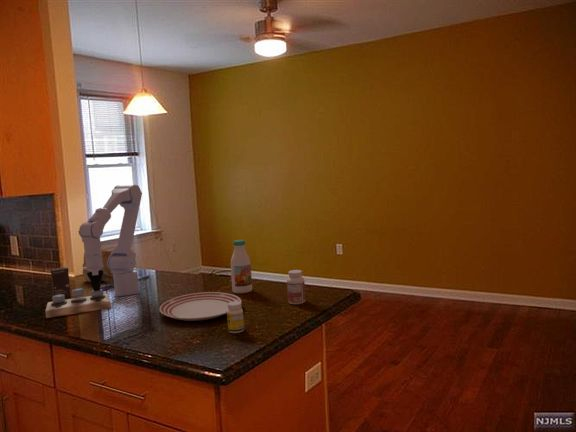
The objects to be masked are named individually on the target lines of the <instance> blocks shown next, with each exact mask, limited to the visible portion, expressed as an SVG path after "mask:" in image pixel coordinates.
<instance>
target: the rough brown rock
mask: <svg viewBox="0 0 576 432" xmlns="http://www.w3.org/2000/svg"><path fill="white" fill-rule="evenodd" d="M112 250H113V249H112ZM112 250H101V252H102V262H103V266H104V267H103V268H102V269H100V270H103V275H102V279H101V282H104V283H106V284H108V285H111V284H114V279H113V273H111V270H109V268H108V266H107V261H108V258H109V257H110V255H111V251H112ZM83 267H86V260H85V251H84V253H83V264H82V268H83ZM87 272H91V271H88V270H83V269H82V276H83V279H84V280H85V281H86V282H89V283H91V281H90V279H89V277H88V276H87Z"/></svg>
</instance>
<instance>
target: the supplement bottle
mask: <svg viewBox="0 0 576 432" xmlns="http://www.w3.org/2000/svg"><path fill="white" fill-rule="evenodd" d="M226 316H227V329H228V332H229V333H231V334H238V333H242V332H244V330H245V321H244V310H243V308H242V301H241V302H238V301H234V302H230V303H228V310H227V314H226Z"/></svg>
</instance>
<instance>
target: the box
mask: <svg viewBox="0 0 576 432" xmlns="http://www.w3.org/2000/svg"><path fill="white" fill-rule="evenodd" d="M69 273H70V272H69V268H68V266H63V267H55V268H50V275H51V276H50V277H51V286H52V287H51V288H52V296H55V295H60V294H63V295H64V296H65V299H71V296H72V294H71V284H70V276H69V275H70V274H69Z"/></svg>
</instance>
